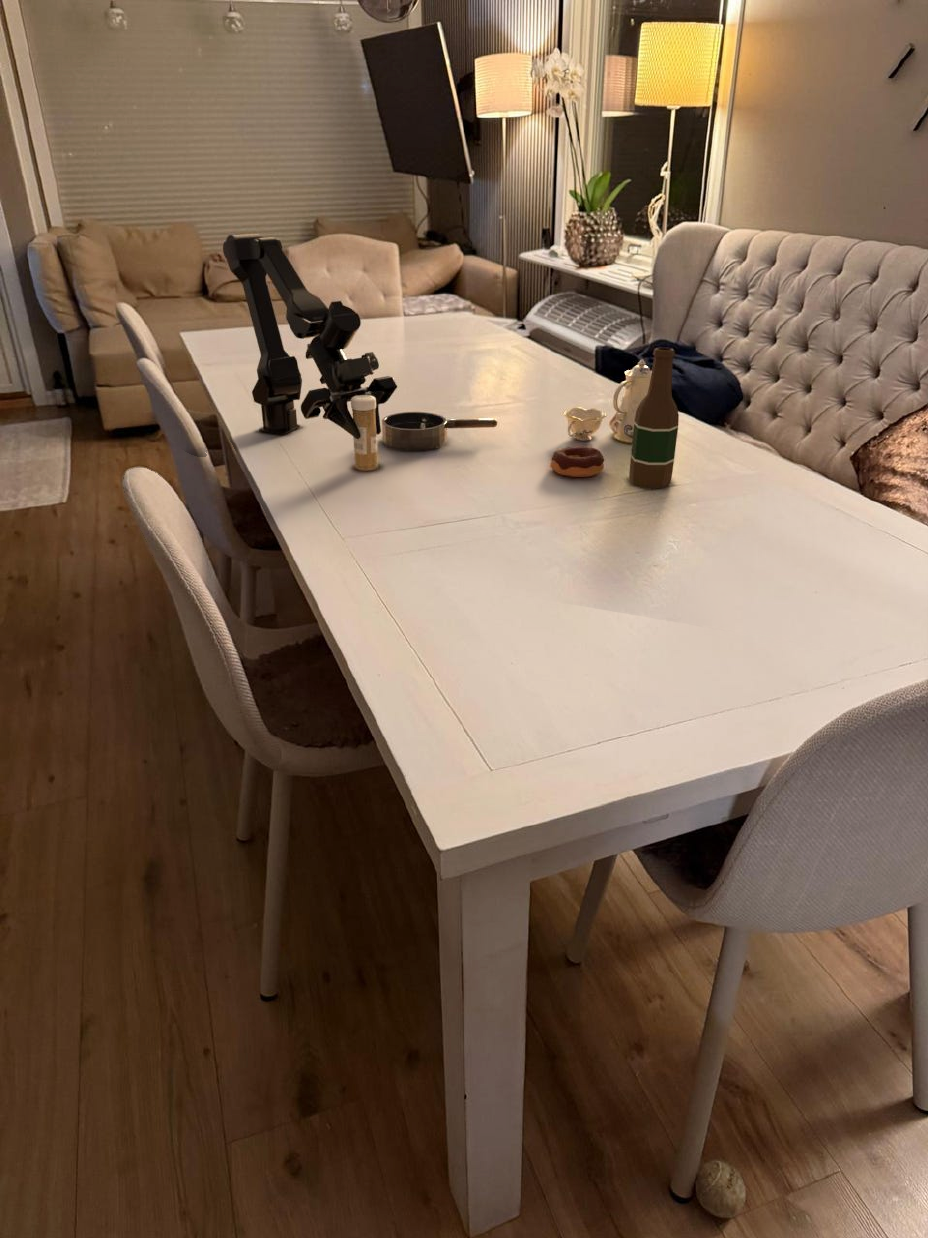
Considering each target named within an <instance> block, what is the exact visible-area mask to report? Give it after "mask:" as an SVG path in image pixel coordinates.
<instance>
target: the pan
mask: <svg viewBox="0 0 928 1238" xmlns="http://www.w3.org/2000/svg"><path fill="white" fill-rule="evenodd" d="M446 420H447V418H446V417H444V416H443V415H440V414H437V413H432V412H426V411H403V412H397V413H392V414H388V415H386V416H384V417H382V419H381V439H382V440H381V441H382V442H383V443H384V444H385V446H387V447H388V448H391V449H394V450H398V451H404V452H423V451H429V450H430V451H431V450H434V449H438V448H440V447H442V446H443V445H444V444H445V443H446V441H447V439H448V428H447V421H446Z"/></svg>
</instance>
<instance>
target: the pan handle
mask: <svg viewBox="0 0 928 1238" xmlns="http://www.w3.org/2000/svg"><path fill="white" fill-rule="evenodd" d="M446 421H447V429H481V428H482V429H483V428H484V429H485V428H486V429H487V428H489V429H490V428H496V427H497V426H498V420H497V419H496V418H460V419H459V418H457V419H455V418H453V419H452V418H451V419H446Z"/></svg>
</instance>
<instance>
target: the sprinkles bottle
mask: <svg viewBox="0 0 928 1238" xmlns="http://www.w3.org/2000/svg"><path fill="white" fill-rule="evenodd" d="M350 407H351V411H352V418H353V420H354V422H355V424H356V426H357V428H358V430H359V433H360V435H361V437H360V438H359V439H356V438H355V437H353V436H352V437H353V438H352V439H353V451H354V468H355V469H356V470H358V471H362V472H368V471H373V470H376V469H378V467H379V463H378V440H377V439H378V438H377V434H376V418H375V410H376V398H375V397H374V396H370V395H358V396H354V397H352V398H351V401H350Z"/></svg>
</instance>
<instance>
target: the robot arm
mask: <svg viewBox="0 0 928 1238" xmlns="http://www.w3.org/2000/svg"><path fill="white" fill-rule="evenodd" d="M222 252H223V256H224V258H225V260H226V262H227V265H228V269H229V271H230V272H231V273H232V274H233V275H234V277H236V279H237V280H238V281H240V283H241V285H242V288H243V292H244V295H245V300H246V304H247V308H248V312H249V316H250V318H251V322H252V327H253V330H254V334H255V337H256V341H257V345H258V346H257V347H258V350H259V354H260V357H259V360H258V364H257V368H256V374H257V381H256V383H255V385H254V387H253V389H252V391H251V395H252V399H253V402H254V403H256V404H259V405H260V408H261V419H262V427H259V428H258V431H259V432H261V433H262V432H263V433H270V434H276V435H283V436H284V435H287V434H289V433H291V432H293V431H295V430H297V429H299V428H301V425H300V424H298V417H297V408H296V407H295V401H299V400H301V393H302V385H303V379H302V374H301V371H300V369H299V365H298V360H297V358H296V356H295V355H292V356H291V355H290V354H289V353H288V352H287V351H286V350H285V347H284V343H283V340H282V335H281V331H280V328H279V323H278V320H277V315H276V312H275V308H274V304H273V300H272V297H271V293H270V289H269V285H268V280H267V276H268V278H269V280H270V281H271V283H272V285H273V286H274V288H275V289H276V291H277V293H278V295H279V296H280V298H281V300H282V301H283V303H284V305H285V307H286V312H285V313H286V314H285V320H286V322H287V324H288V325H289V328H290V331H291V332H292V333H293V335H294V337H295V338H297V339H300V340H301V339H302V340H303V339H304V340H305V339H311V338H312V339H311V341H310V343H307V345H306V347H307V348H306V351H305V359H306V360H308V359H309V360H310V359H312V360H313V361H314V363H315V365H316V367H317V369H318V371H319V373H320V376H321V377H320V378H319V382H320V384H321V385H326V387H321V388H314V389H310V390H308V392H307V394H306V395H305V397H304V398H303V401H301V404H300V412H301V413H302V416H303V418H304V419H305V420H309V419H313V418H318V417H319V416H320V415H321V412H322V410H321V408H322V409H323V411H324V413H323V415H322V418H323V419H324V420H329V421H330V422H332V423H333V424H335V425H337V426H338V427H340V428H341V429H343V430H344V431H345V432H346V433H348V434H349V435H350V436H352V437H355V438H356V439H359V438H360V437H361V435H360V433H359V430H358V428H357V426H356V424H355V422H354V420H353V415H352V413H351V412H350V411H349V407H348V402H351V398H352V397H354V396H358V395H370V396H374V397H375V398H376V410H375V418H376V436H377V435H380V434H382V426H381V420H380V419H381V418H380V411H379V408H380V407H379V406H380V405H381V404H382V405H383V404H385V403H387V402H388V401H389V399H390V398H391V397H392V395H393V394H394V392H396V390H397V388H398V387H399V386H398V384H397V382H396V380H395V378H393V376H390V375H386V376H381V377H374V378H373V379H372V380H371V382H370V383H369V386H365V387H362V385H364V384H365V383H366V381H367V379H366V377H368V376H372V375H374V374H375V373H374V371H376V370H378V369H379V368H380V363H379V359H378V358H377V357H376V354H375V352H373V351H370V352H365V353H364V354H362V355H361V356H360V357H355V358H348V357H347V356H346V353H345V352H344V350H345V349H347V348H348V347H349V345H350V344H351V342H352V340H353V339H354V337H355V335H356V334H357V332H358V331H359V329H360V327H361V325H362V321H361V317H360V315H359V314H358V313H357V312H356V311H355V310H353V309H352V308H351V307H349V306H347V305H344V304H343V302H342V301H341V300H334V301H331V302H330V304H329V306H328V307H327V305H326V304H325V303H324V302H323V300H322V299H321V298H320V297H318V296H317V295H315V294H313V293H312V292H310V291H309V290H308V289H307V287H306V285H304V282H303V281H302V279H301V277H300V276H299V274H298V272H297V271H296V270H295V268H294V266H293V264H292V263H291V261H290V260H289V257H288V256H287V254H286V253H285V251H284V250H283V244H282V242H281V240H280V238H278V237H275V236H265V237H264V236H262V235H261V234H260V233H258V232H254V233H252V232H251V233H239V234H229V235H227V237H226V240H225V241H224V242H223V244H222Z"/></svg>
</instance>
